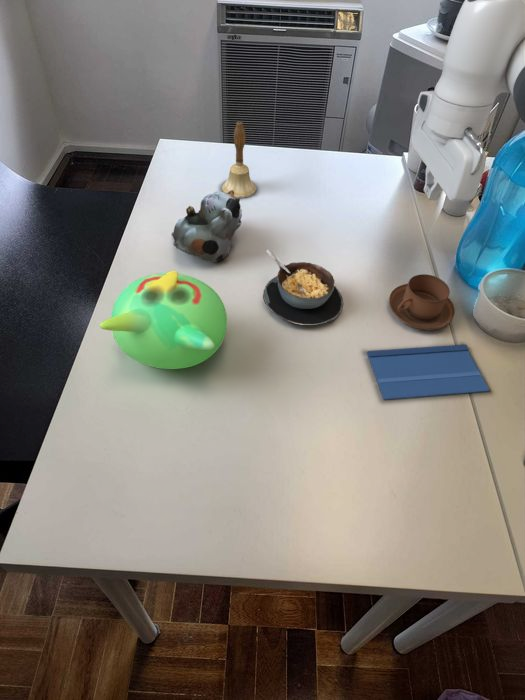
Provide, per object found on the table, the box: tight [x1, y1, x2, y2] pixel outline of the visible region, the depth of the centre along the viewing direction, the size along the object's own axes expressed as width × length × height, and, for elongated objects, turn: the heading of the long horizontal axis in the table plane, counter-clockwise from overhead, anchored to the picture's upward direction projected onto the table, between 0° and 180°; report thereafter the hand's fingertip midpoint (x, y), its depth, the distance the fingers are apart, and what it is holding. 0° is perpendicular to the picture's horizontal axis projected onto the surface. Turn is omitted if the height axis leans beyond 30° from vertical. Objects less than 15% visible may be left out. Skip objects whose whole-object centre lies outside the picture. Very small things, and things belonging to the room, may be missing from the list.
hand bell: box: [221, 120, 257, 199], centre depth 108 cm, size 8×8×16 cm
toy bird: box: [99, 270, 228, 370], centre depth 74 cm, size 18×17×15 cm
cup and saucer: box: [388, 273, 456, 331], centre depth 86 cm, size 12×12×6 cm
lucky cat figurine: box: [170, 190, 243, 263], centre depth 94 cm, size 15×12×14 cm
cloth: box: [366, 344, 491, 401], centre depth 79 cm, size 18×10×1 cm, turn 97°
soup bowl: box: [262, 249, 344, 326], centre depth 86 cm, size 15×16×7 cm
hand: (430, 195), depth 83 cm, fingers closed
